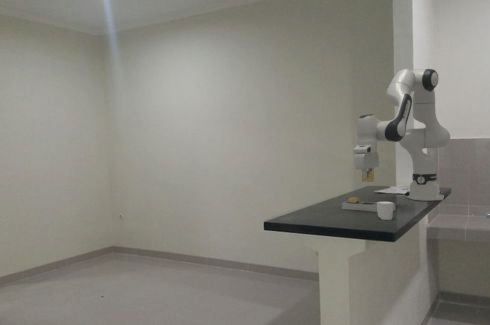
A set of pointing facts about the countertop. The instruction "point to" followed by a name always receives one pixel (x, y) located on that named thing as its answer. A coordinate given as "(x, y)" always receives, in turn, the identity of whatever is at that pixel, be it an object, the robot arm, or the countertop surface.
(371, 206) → the rail
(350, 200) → the nut seated
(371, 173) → the tan yellow block
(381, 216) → the white cup
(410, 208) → the countertop surface
